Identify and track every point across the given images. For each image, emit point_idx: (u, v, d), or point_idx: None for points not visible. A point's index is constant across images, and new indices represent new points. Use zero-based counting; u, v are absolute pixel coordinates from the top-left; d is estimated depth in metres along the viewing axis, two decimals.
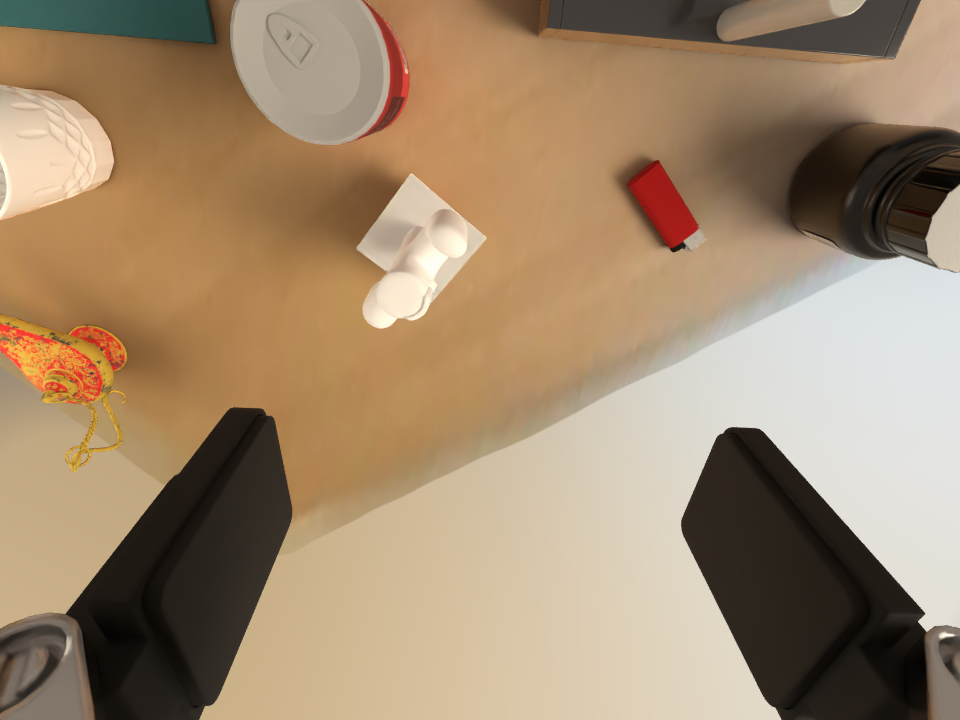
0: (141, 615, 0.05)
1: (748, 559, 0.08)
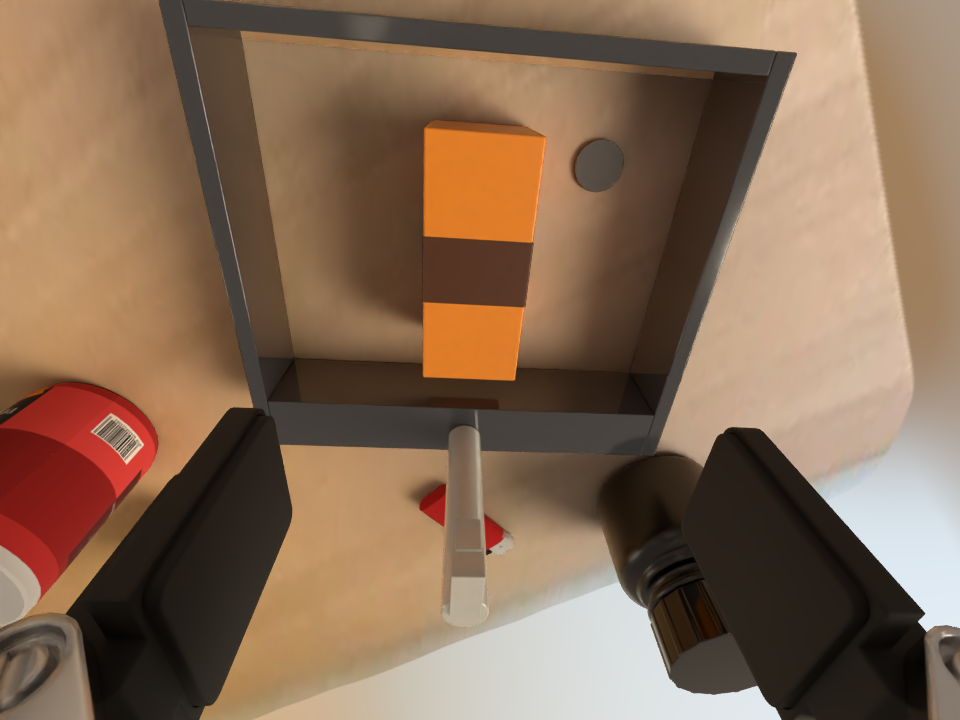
0: (141, 615, 0.05)
1: (748, 559, 0.08)
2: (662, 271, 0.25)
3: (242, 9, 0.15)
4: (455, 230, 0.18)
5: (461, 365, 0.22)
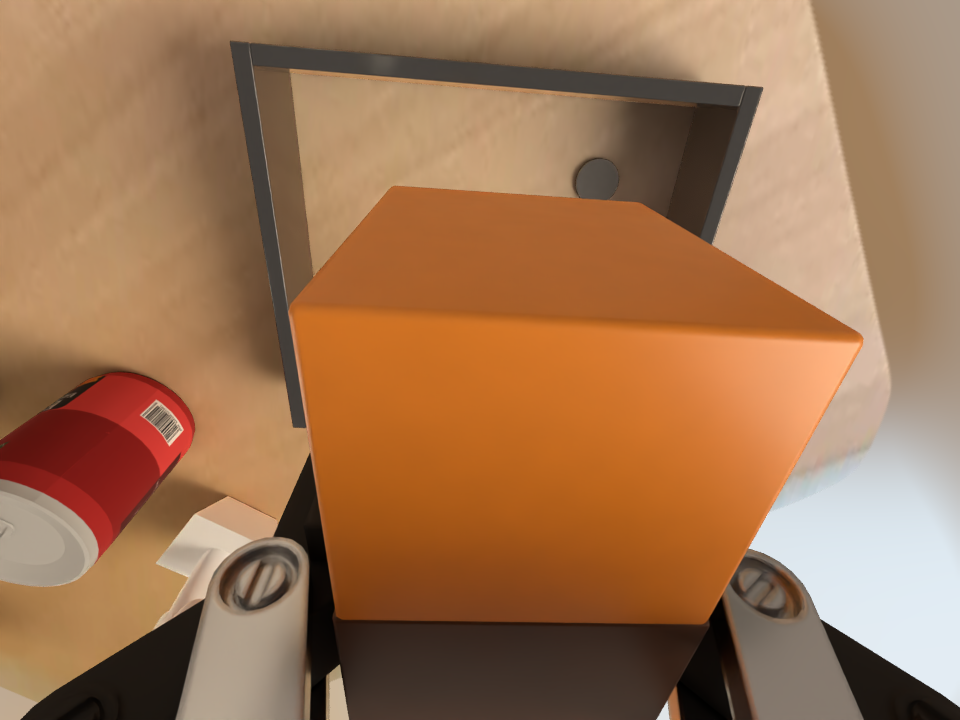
0: None
1: None
2: None
3: (298, 52, 0.19)
4: (446, 605, 0.05)
5: None
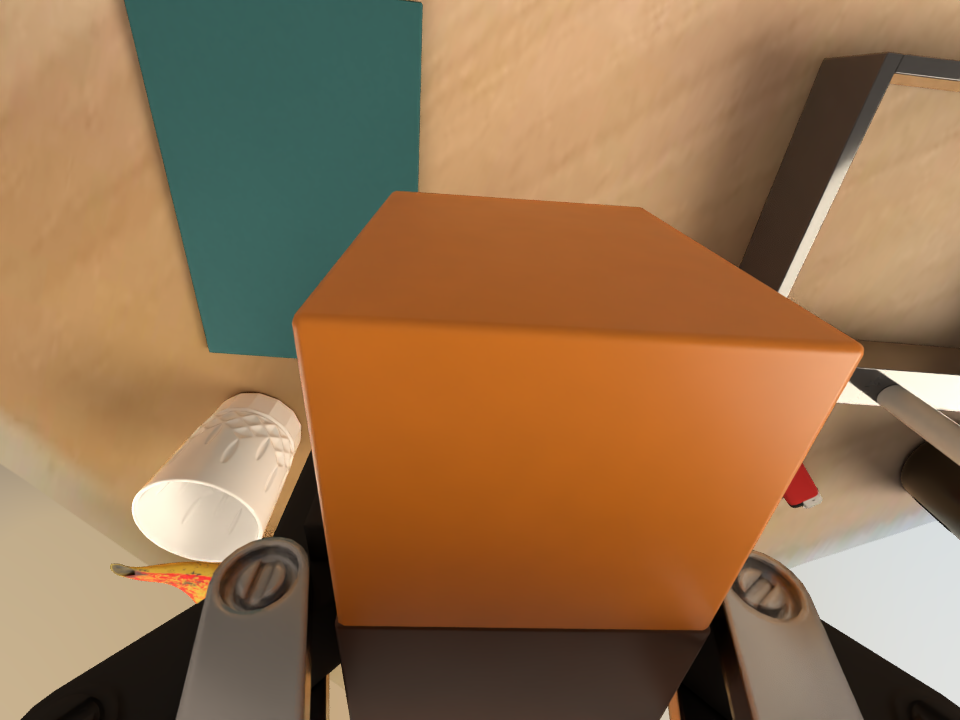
0: None
1: None
2: None
3: (940, 63, 0.21)
4: (448, 611, 0.05)
5: None
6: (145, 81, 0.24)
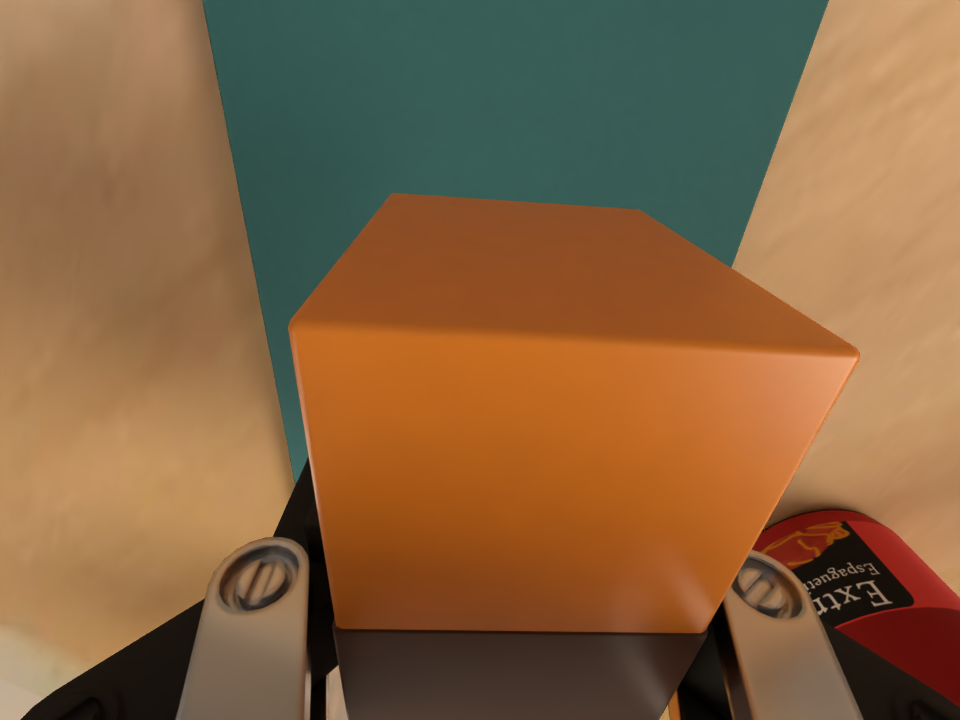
0: None
1: None
2: None
3: None
4: (445, 614, 0.05)
5: None
6: (226, 108, 0.12)
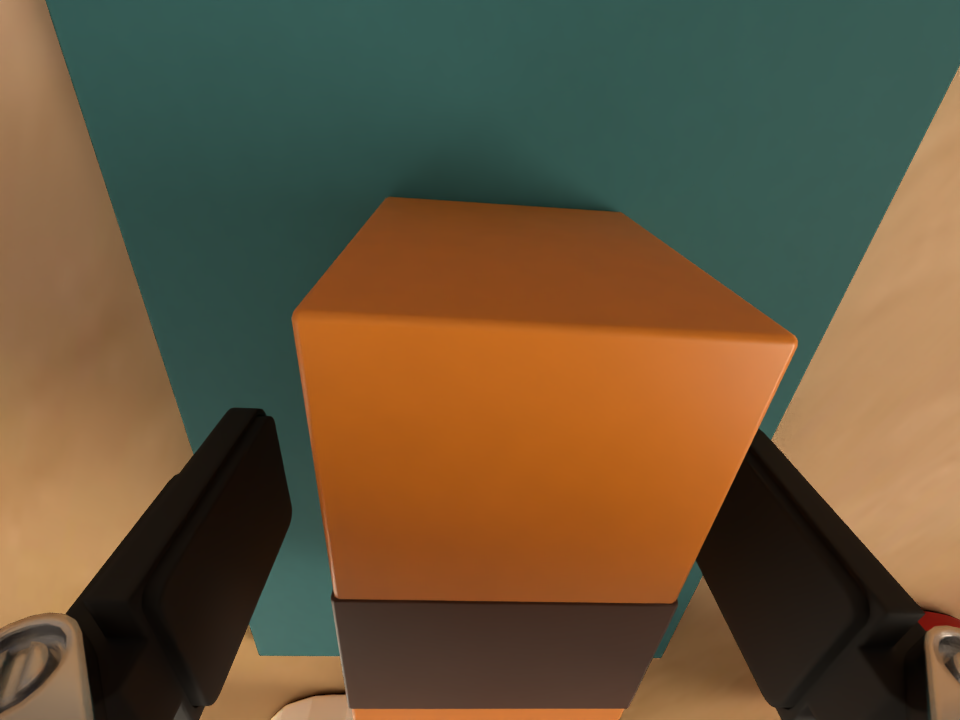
0: (141, 615, 0.05)
1: (748, 559, 0.08)
2: None
3: None
4: (435, 585, 0.06)
5: None
6: (91, 125, 0.08)
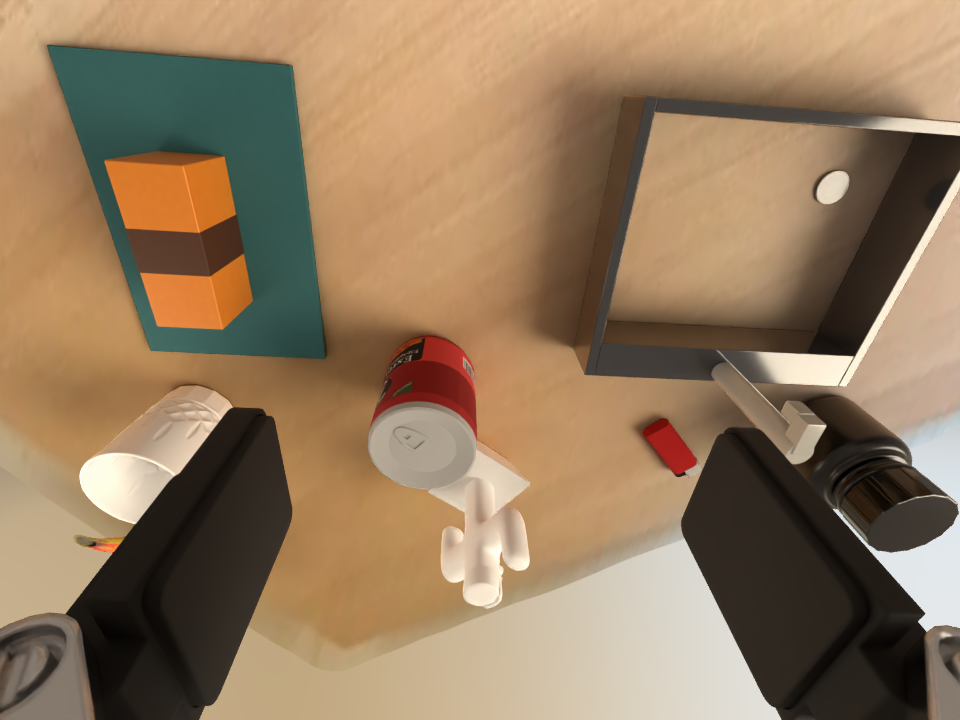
0: (141, 615, 0.05)
1: (748, 559, 0.08)
2: (860, 257, 0.36)
3: (689, 103, 0.27)
4: (145, 224, 0.29)
5: (181, 318, 0.32)
6: (77, 132, 0.31)
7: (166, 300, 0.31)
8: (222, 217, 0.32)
